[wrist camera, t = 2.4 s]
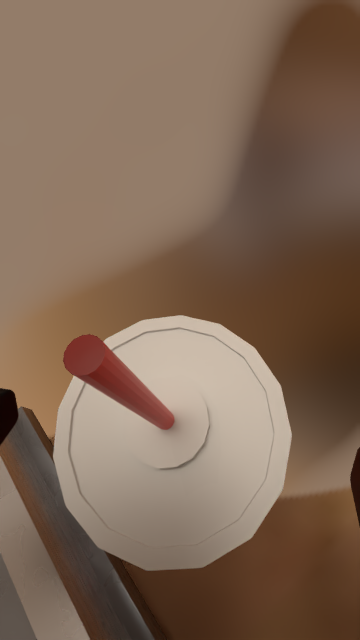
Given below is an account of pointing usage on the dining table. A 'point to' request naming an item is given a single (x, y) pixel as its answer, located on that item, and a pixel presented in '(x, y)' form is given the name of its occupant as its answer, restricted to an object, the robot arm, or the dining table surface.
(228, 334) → the beverage cup
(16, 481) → the housing
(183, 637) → the dining table surface
